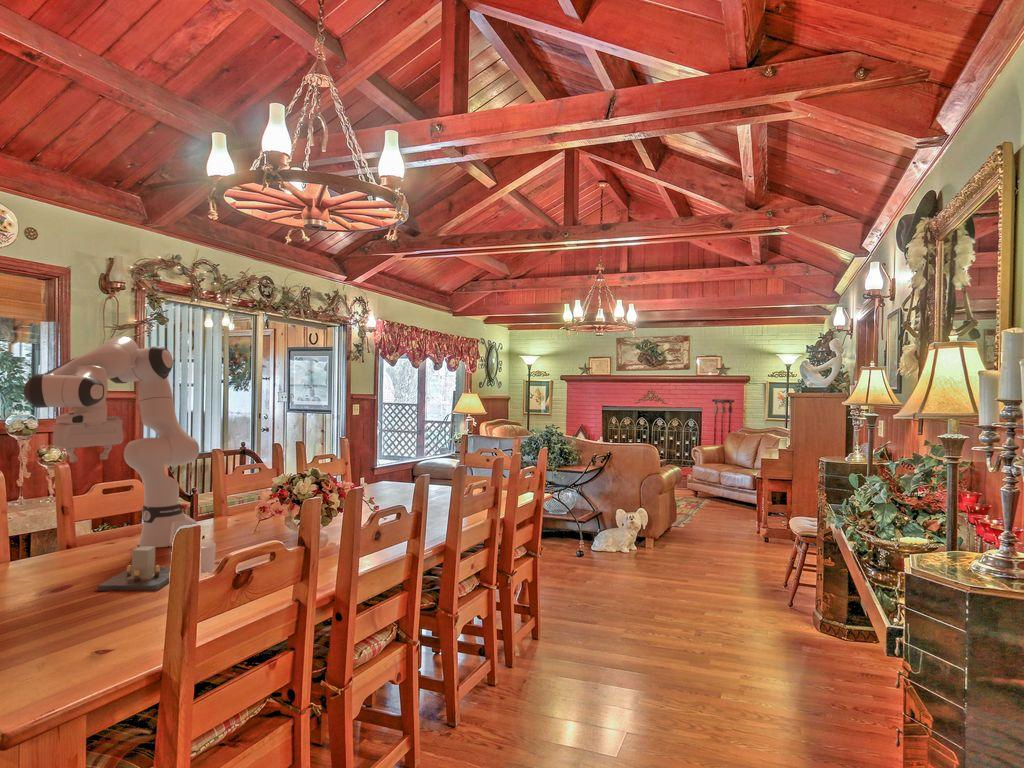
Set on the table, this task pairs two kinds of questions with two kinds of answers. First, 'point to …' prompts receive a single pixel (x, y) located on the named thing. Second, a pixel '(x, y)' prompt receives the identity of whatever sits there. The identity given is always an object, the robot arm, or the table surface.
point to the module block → (143, 561)
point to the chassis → (137, 580)
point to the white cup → (207, 556)
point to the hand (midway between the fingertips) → (88, 460)
